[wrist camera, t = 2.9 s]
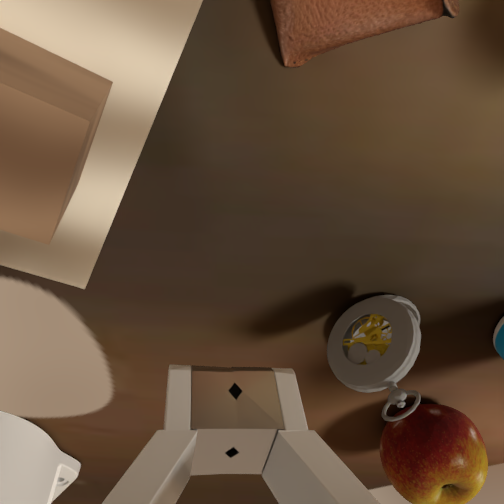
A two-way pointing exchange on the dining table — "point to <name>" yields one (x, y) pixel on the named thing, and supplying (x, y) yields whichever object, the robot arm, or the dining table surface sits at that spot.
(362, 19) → the sunglasses case
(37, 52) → the walnut block
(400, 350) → the pocket watch
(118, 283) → the dining table surface
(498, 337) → the blue labeled canister
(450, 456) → the fruit
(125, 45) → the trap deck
